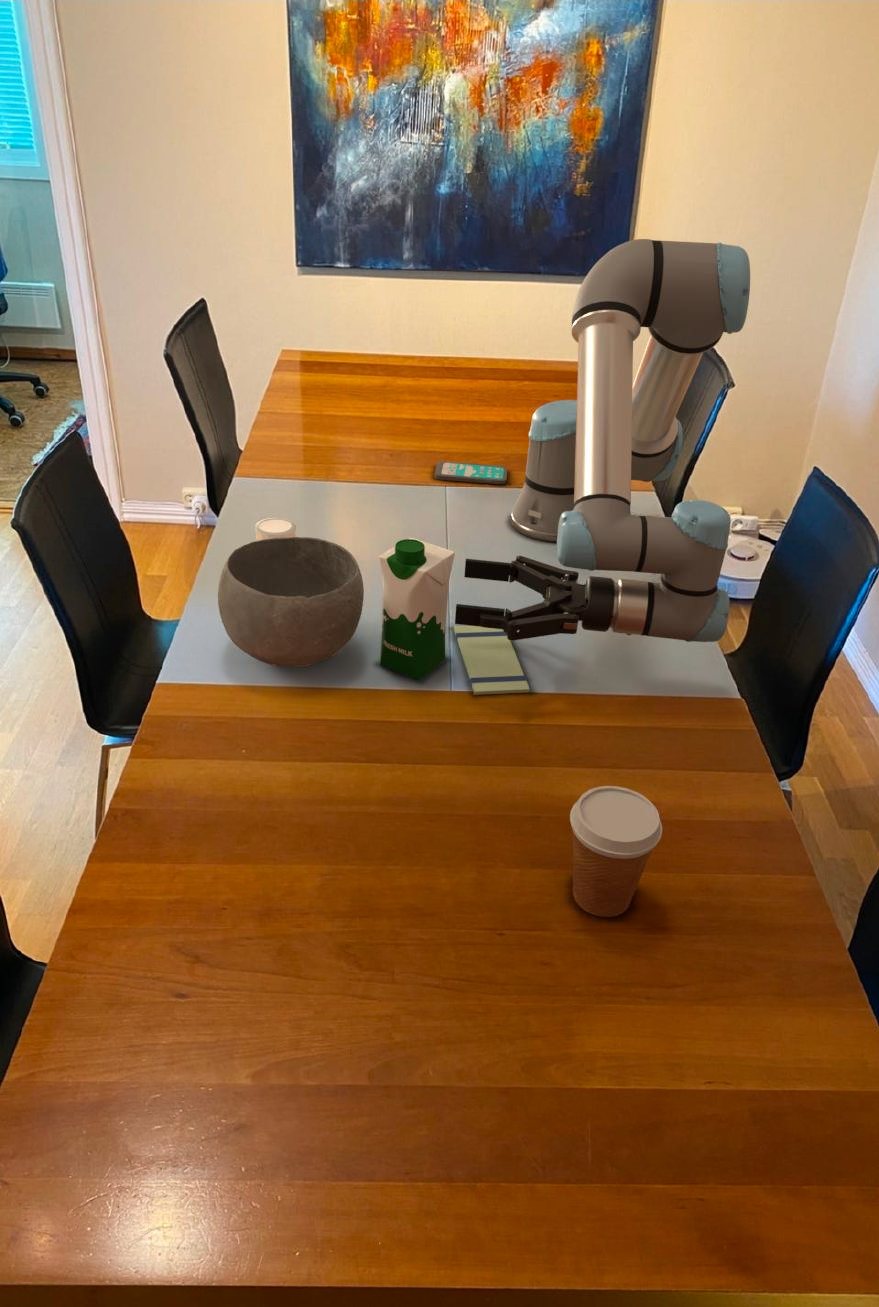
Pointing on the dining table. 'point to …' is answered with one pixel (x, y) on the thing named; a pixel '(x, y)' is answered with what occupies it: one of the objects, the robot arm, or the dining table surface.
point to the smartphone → (471, 472)
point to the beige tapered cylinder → (274, 528)
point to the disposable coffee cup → (611, 847)
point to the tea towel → (490, 661)
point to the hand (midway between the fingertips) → (460, 590)
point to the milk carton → (414, 606)
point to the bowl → (290, 599)
